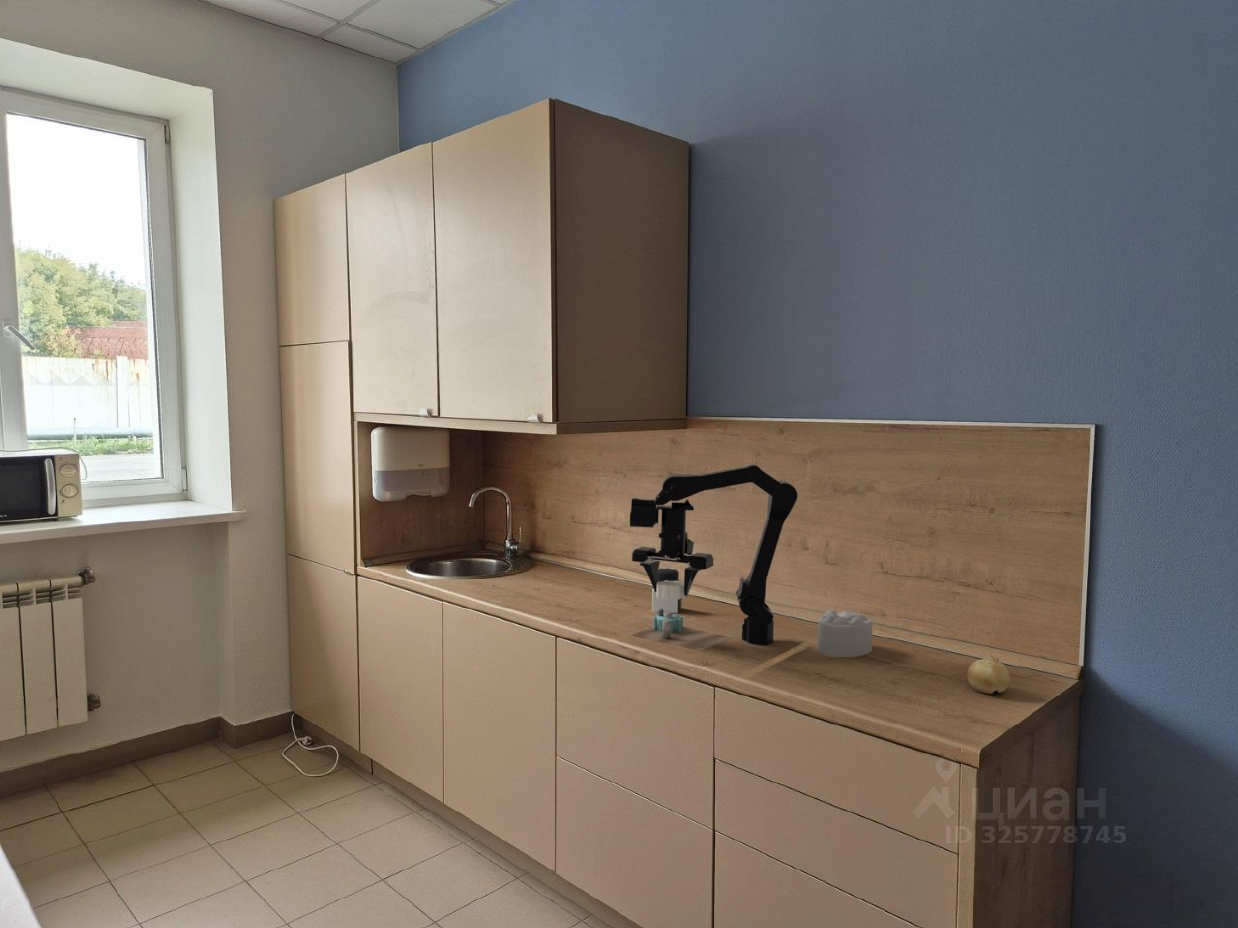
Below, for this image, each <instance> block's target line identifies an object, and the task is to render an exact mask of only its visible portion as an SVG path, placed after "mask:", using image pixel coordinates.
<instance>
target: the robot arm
mask: <svg viewBox="0 0 1238 928" xmlns="http://www.w3.org/2000/svg"><path fill="white" fill-rule="evenodd" d="M748 483H751V484H752V483H753V484H754V485H756V486H757V487H758V488H760V489H761V490H763V492H765V493H767V494H768V498H767V511H766V514H767V515H766V520H765V523H764V526H763V529H762V532H761V536H760V540H759V543H758V546H757V549H756V552H755V557H754V560H753V563H752V565H751V569H750V572H749V574H748V575H747V577H746V579H745V578H743V577H740V578H739V579H740V580H739V585H738V588H737V590H736V591H735V595H736V597H737V599H736V600H737V603H738V605H739V609H740V611H741V612H742V613H743V614H744V615H746V616H747V617H745V618H743V623H742V624H741V625H742V626H741V641H744V642H746V643H747V644H750V645H753V646H754V645H756V646H768V645H771V644H773V643H774V625H775V624H774V623H775V620H774V615H773V612H772V610H771V608H770V607H769V606H768V604H767V603H766V595H767V580H768V575H769V573H770V569H771V566H772V562H773V559H774V556H775V552H776V549H777V547H778V546H777V545H778V542H779V540H780V536H781V533H782V529H783V526H784V524H785V522H786V520H787V518H788V517H789V515H790V514H791V512H792V510H793V508H794V506H795V504H796V503H797V500H798V492H797V489H796V488H795V487H794V486H793V485H792V484H791V483H790V482H787V481H786V480H777V479H775V478H774V477H772V476H771V475H769V473H767V472H765V471H764V470H762V469H761V467H759V466H758V465H757V464H752V463H751V464H748V465H746V466H741V467H736V468H729V469H725V470H719V471H713V472H707V473H702V474H689V473H685V474H684V473H683V474H680V473H679V474H678V473H676V474H670V475H668V476H667V477H665V479H664V480H663V481H662V489H661V490H660V492H659V493H658V494H656V496H655V497H654V499H649V498H648V499H646V498H638V497H632V498H631V505H630V512H629V528H645V529H646V528H649V529H651V528H653V529H654V526H656V525H657V524H659V518H660V517H659V515H660V512H659V510H661V521H660V522H661V524H660V532H659V533H658V538H660V550H658V551H657V550H656V547H649V546H647V547H646V546H640V547H638V548H635V549H634V550H632V553H631V562H635V563H637V562H638V563H639V565H640V566H641V567H643V568H644V570H645V572H646V574H647V576H648V578H649V581H650V583H651V586H652V589H653V588H654V591H655V592H657V582H659V575H658V570H659V569H660V564H661V561H664V562H670V563H671V562H672V563H679V564H680V563H681V564H688V565H687V567H686V568H684V576H683V577H684V578H683V583H684V596H686V597H687V596H689V592H690V590H691V587H692V585H693V582H694V581H695V578H696V576H697V574H698V572H700V571H703V570H707V569H710V568H712V567H714V557H713V555H712V554H711V553H703V552H696V553H693V551H694V544H695V542H694V541H692V540H691V539H689V538H688V531H686V525H687V523H686V522H687V521H686V519H687V511H689V512H690V511H694V510H695V507H694V505H693V504H691V502H690V500H689V499H688V498H690V497H692V496H694V495H696V494H698V493H702V492H704V491H709V490H711V491H712V490H714V489H721V488H722V489H723V488H726V487H732V486H737V485H744V484H748ZM681 500H685V501H683V502H680V501H681ZM669 502H671V505H666V504H668V503H669Z"/></svg>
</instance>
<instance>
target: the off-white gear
mask: <svg viewBox="0 0 1238 928" xmlns="http://www.w3.org/2000/svg"><path fill="white" fill-rule="evenodd" d="M656 597H661V598H664V599H675V600H679V599H681V598H682V599H686V598H687V596H684V582H681V581H668V580H664V581H661V582H657V592H656Z"/></svg>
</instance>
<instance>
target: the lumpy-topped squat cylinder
mask: <svg viewBox="0 0 1238 928" xmlns="http://www.w3.org/2000/svg"><path fill="white" fill-rule="evenodd" d="M817 627H818V631H817V632H818V636H817V652H818V651H819V652H820V653H821V655H822V654H823V655H822V656H825V655H826V657H830V656H832V657H831V658H840V657H846V658H858V657H862V656H864V654H865V655H867V653H868V654H870V653H871V652H872V651H873V620H872V619H871V618H868V617H867V616H865V614H863V613H858V612H853V611H850V610H843V611H841V612H839V613H837V612H836V611H835V610H828V611H826V612H825V613H824V614H823V616H821V617H820V618H819V620H818V626H817ZM819 652H818V653H819ZM869 652H870V653H869ZM820 653H819V654H820ZM861 655H862V656H861ZM857 656H858V657H857Z"/></svg>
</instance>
